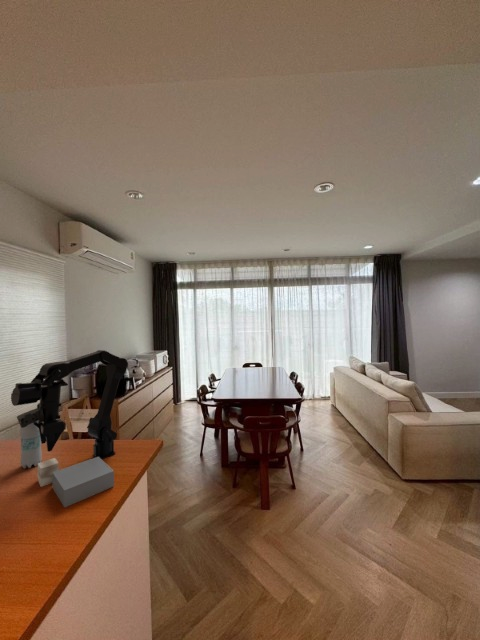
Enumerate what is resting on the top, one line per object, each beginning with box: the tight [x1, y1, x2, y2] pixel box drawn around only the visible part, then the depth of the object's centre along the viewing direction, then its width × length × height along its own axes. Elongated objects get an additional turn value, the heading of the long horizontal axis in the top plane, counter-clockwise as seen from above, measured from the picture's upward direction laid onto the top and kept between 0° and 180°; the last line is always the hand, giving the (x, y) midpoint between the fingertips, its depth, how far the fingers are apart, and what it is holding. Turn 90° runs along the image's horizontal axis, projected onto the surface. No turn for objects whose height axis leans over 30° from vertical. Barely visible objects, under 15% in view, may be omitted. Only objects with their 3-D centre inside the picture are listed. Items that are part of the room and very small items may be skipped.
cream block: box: [37, 457, 60, 488], centre depth 93 cm, size 5×5×6 cm
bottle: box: [19, 423, 42, 469], centre depth 103 cm, size 7×7×20 cm
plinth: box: [52, 457, 115, 508], centre depth 89 cm, size 14×14×5 cm
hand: (46, 447), depth 93 cm, fingers open, 9 cm apart
